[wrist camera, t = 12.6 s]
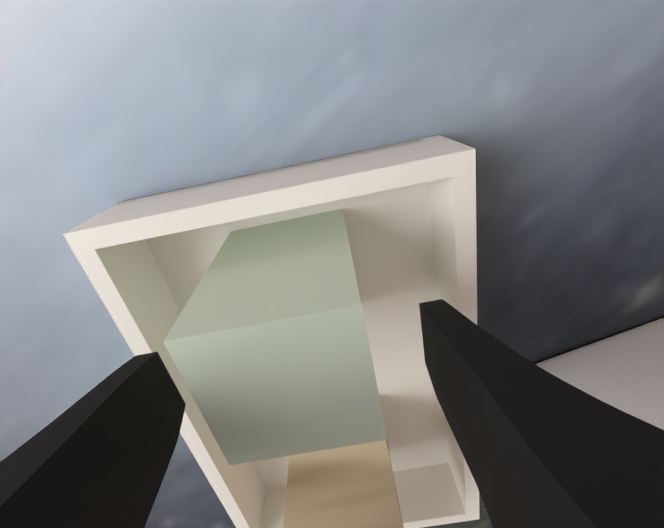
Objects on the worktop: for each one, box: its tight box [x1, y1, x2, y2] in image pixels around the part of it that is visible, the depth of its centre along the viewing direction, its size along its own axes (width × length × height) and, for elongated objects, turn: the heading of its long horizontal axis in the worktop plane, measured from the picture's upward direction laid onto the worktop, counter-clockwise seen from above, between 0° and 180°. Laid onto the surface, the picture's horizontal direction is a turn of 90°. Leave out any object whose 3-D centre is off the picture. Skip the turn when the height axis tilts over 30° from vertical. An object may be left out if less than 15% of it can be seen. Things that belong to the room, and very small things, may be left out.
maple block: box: [283, 440, 404, 528], centre depth 14 cm, size 4×4×6 cm
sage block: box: [163, 209, 388, 466], centre depth 10 cm, size 4×4×6 cm
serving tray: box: [63, 135, 479, 528], centre depth 14 cm, size 17×11×3 cm, turn 11°
